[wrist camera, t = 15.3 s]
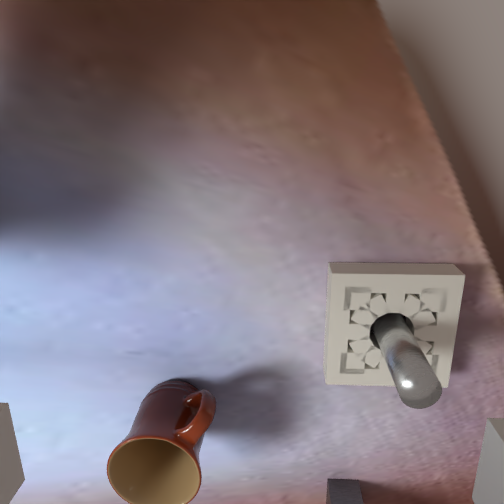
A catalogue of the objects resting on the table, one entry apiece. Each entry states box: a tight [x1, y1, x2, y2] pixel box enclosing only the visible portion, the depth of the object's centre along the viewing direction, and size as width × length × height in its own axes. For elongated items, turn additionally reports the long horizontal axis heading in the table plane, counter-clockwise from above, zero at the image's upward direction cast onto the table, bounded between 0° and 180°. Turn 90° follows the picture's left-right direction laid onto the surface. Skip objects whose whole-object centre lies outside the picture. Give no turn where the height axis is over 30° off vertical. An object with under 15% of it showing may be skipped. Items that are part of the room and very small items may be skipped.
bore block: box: [323, 262, 465, 388], centre depth 44 cm, size 12×12×3 cm
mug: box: [107, 381, 216, 504], centre depth 45 cm, size 12×9×10 cm
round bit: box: [371, 313, 442, 409], centre depth 40 cm, size 3×3×12 cm
